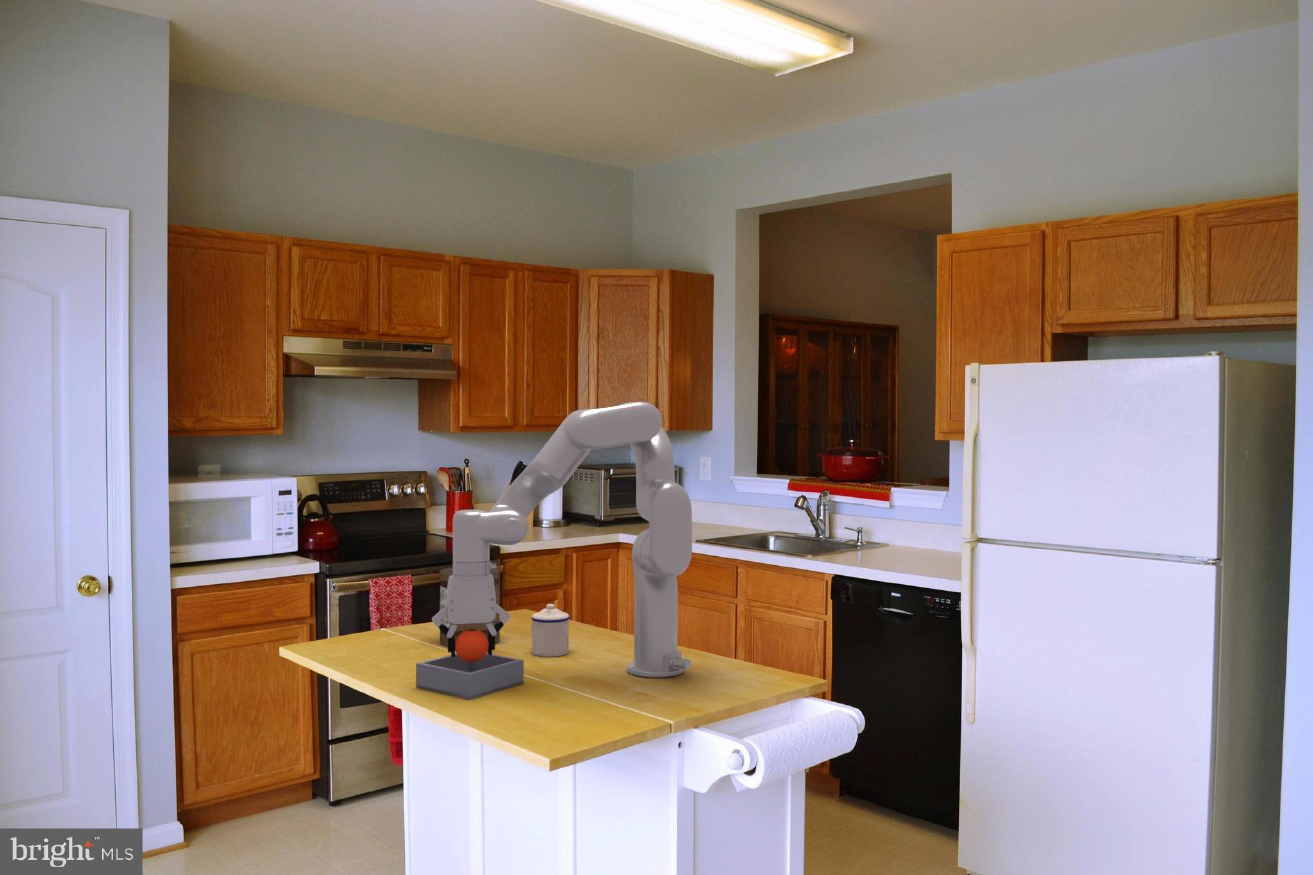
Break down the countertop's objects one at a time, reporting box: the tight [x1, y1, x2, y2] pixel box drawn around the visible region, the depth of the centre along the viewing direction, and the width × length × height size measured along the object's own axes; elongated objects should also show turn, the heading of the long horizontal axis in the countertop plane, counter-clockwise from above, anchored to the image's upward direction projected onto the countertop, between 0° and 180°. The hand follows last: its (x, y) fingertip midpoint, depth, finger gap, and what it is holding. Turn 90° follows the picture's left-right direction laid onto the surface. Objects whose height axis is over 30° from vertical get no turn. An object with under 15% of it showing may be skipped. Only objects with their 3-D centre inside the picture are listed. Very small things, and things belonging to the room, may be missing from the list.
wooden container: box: [439, 567, 501, 648], centre depth 250 cm, size 15×15×22 cm
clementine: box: [455, 628, 489, 663], centre depth 207 cm, size 8×7×7 cm
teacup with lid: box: [530, 603, 570, 658], centre depth 239 cm, size 12×9×12 cm
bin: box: [415, 652, 525, 700], centre depth 208 cm, size 16×16×5 cm
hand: (471, 653), depth 208 cm, fingers closed on clementine, 6 cm apart
